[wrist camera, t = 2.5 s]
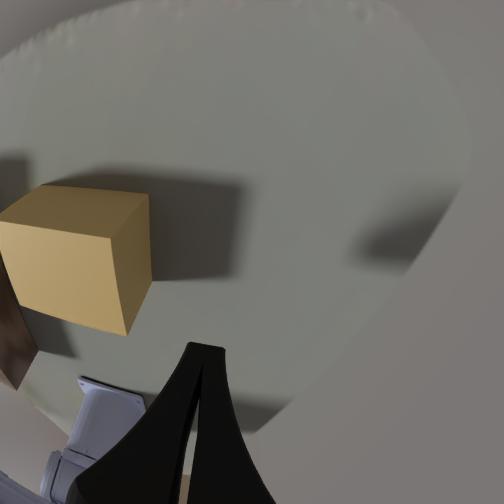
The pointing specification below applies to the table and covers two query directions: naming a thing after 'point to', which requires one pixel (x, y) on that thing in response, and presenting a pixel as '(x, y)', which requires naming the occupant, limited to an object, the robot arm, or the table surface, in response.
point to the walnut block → (13, 338)
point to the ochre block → (79, 254)
